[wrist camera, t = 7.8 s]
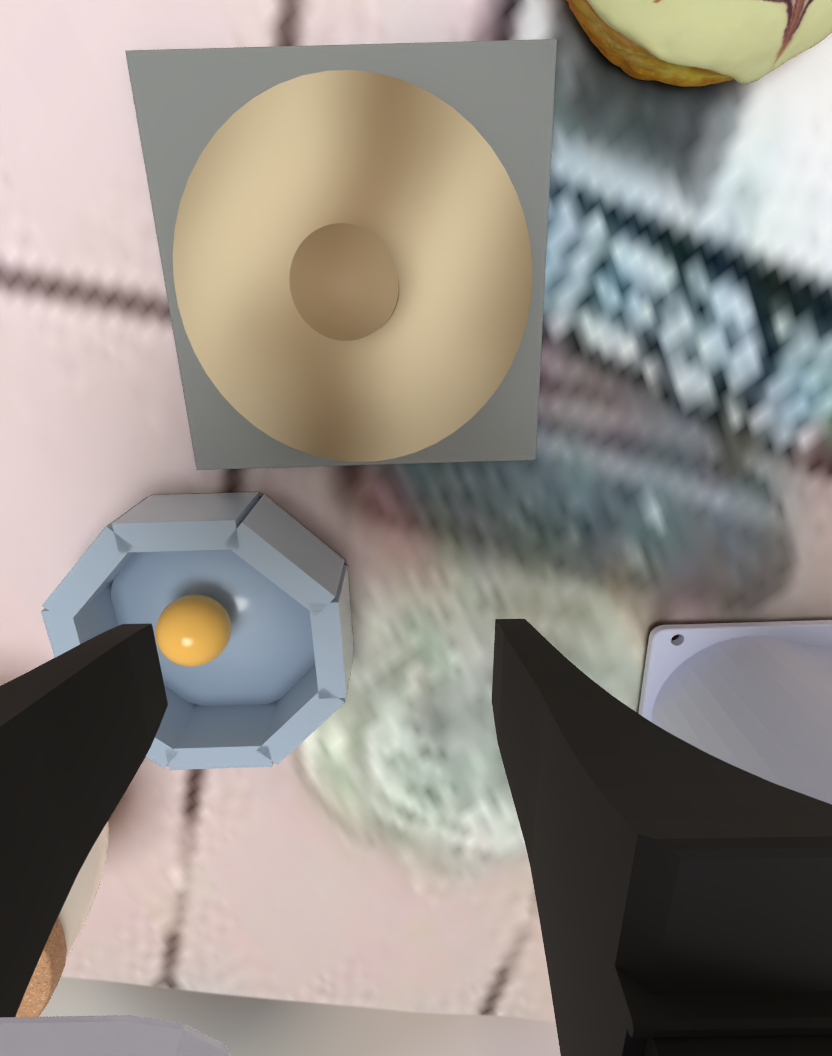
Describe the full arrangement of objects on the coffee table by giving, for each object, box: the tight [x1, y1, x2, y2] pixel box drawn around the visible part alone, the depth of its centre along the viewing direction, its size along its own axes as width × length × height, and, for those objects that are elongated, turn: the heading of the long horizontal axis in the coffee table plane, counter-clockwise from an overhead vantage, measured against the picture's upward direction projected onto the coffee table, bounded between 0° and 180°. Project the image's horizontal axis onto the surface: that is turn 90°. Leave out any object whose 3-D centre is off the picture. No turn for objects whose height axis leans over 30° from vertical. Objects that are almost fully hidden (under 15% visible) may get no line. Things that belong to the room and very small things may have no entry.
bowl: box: [41, 492, 354, 770], centre depth 21 cm, size 10×10×3 cm
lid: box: [173, 70, 533, 462], centre depth 16 cm, size 11×11×4 cm
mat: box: [125, 39, 557, 470], centre depth 18 cm, size 12×12×1 cm
